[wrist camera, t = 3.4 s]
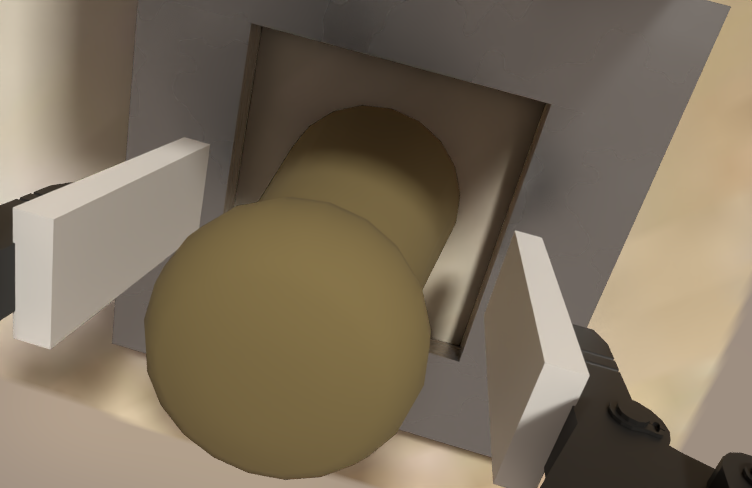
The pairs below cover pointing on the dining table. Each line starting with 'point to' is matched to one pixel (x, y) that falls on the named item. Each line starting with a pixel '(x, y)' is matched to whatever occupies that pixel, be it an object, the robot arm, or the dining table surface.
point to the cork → (308, 301)
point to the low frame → (472, 64)
